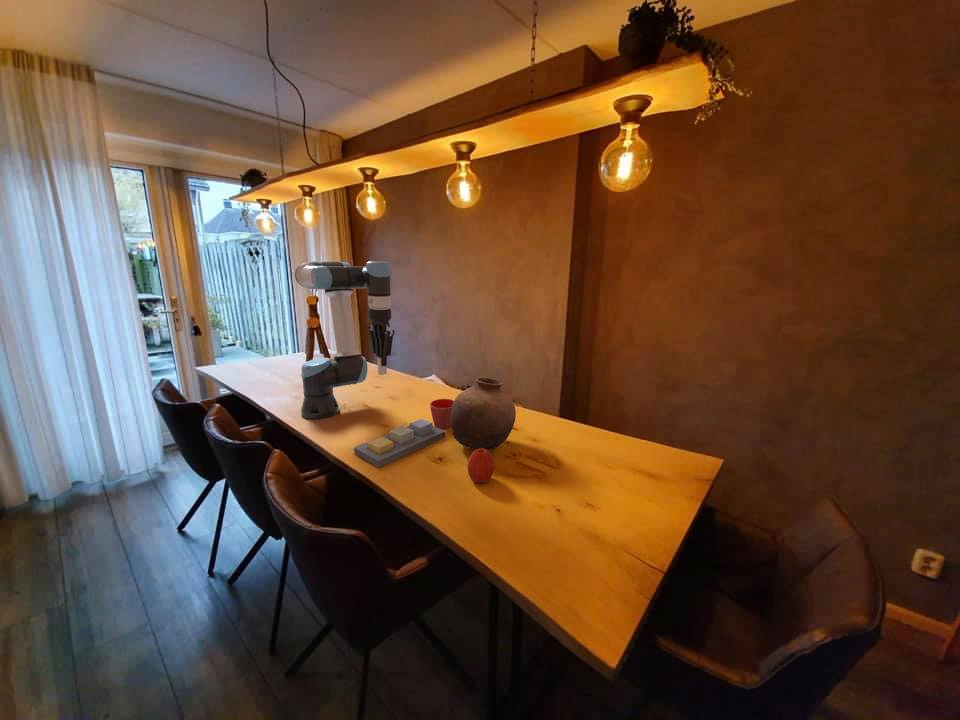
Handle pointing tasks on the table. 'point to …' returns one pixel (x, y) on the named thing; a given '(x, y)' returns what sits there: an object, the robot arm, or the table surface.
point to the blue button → (421, 427)
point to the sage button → (401, 435)
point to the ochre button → (380, 445)
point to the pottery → (482, 415)
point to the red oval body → (480, 466)
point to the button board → (398, 448)
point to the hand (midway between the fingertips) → (382, 374)
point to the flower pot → (441, 412)
